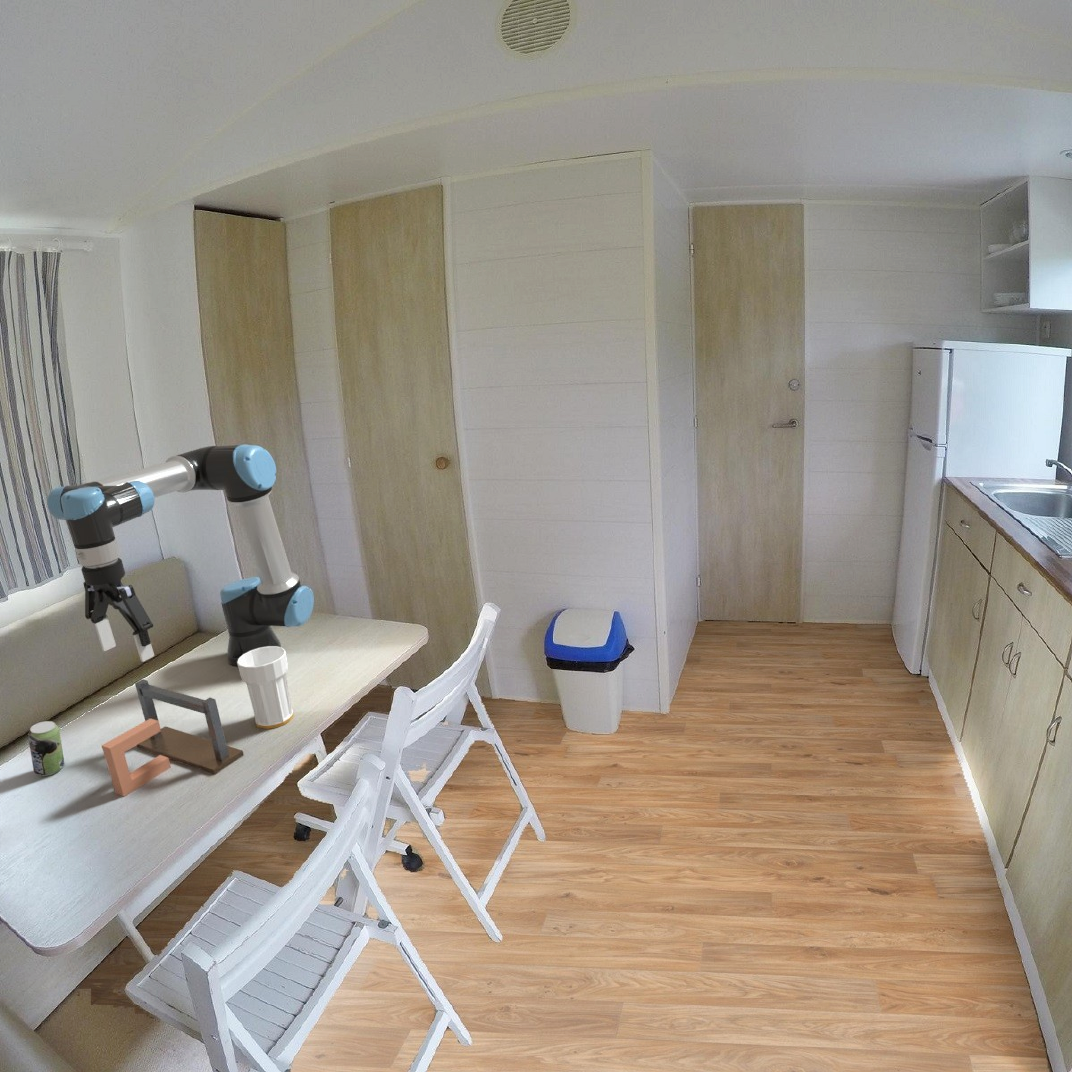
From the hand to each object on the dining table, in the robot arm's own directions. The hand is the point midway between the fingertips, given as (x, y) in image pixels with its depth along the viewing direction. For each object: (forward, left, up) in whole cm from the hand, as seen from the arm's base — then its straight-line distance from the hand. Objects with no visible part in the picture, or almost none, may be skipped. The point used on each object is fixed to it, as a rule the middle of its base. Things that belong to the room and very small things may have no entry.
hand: (128, 653), depth 166 cm
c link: (+3, -3, -29) cm, 29 cm away
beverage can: (-15, -21, -29) cm, 39 cm away
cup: (-5, +27, -29) cm, 40 cm away
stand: (-3, +7, -29) cm, 30 cm away
